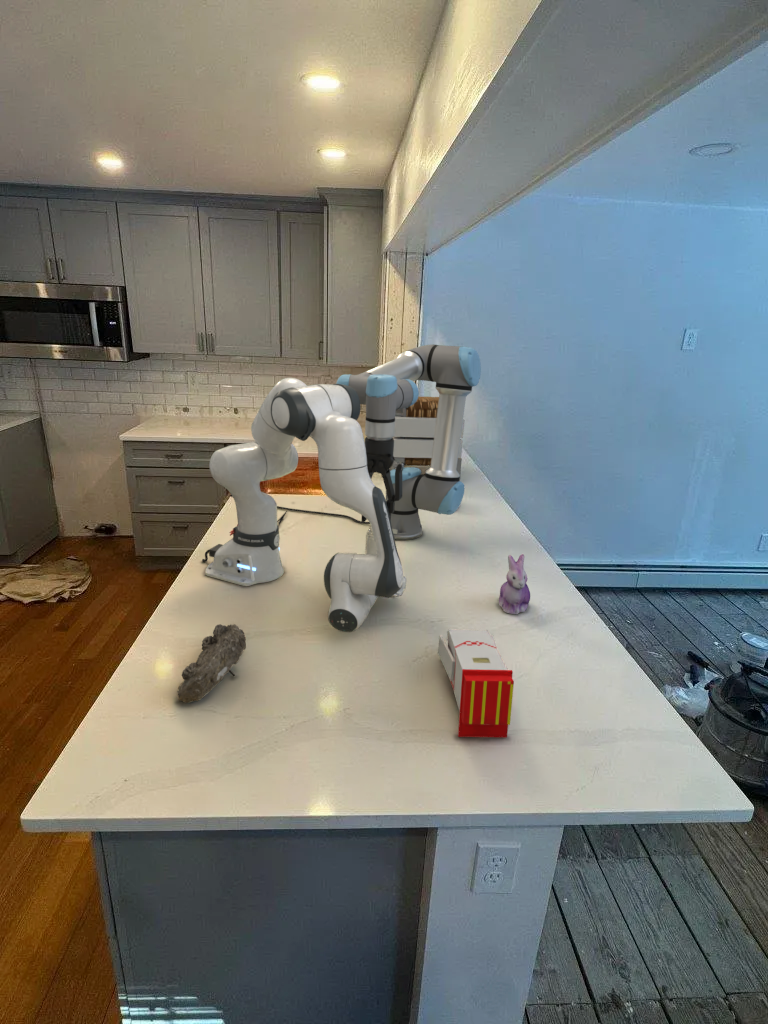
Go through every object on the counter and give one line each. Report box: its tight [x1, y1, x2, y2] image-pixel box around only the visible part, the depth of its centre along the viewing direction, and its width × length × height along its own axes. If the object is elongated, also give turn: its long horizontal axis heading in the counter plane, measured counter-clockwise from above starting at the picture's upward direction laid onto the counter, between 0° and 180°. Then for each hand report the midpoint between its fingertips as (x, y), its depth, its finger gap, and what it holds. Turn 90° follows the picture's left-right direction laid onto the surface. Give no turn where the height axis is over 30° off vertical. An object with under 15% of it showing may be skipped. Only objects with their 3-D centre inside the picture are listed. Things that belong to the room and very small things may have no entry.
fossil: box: [176, 623, 247, 704], centre depth 119 cm, size 22×10×15 cm
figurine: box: [498, 553, 531, 615], centre depth 151 cm, size 9×10×15 cm
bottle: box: [364, 525, 377, 554], centre depth 156 cm, size 5×5×22 cm
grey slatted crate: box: [390, 396, 465, 481], centre depth 268 cm, size 34×33×41 cm
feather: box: [277, 510, 288, 528], centre depth 213 cm, size 2×28×2 cm
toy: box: [437, 628, 515, 738], centre depth 117 cm, size 12×13×30 cm
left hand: (374, 568), depth 158 cm, fingers closed on bottle, 5 cm apart
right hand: (376, 521), depth 152 cm, fingers open, 6 cm apart
